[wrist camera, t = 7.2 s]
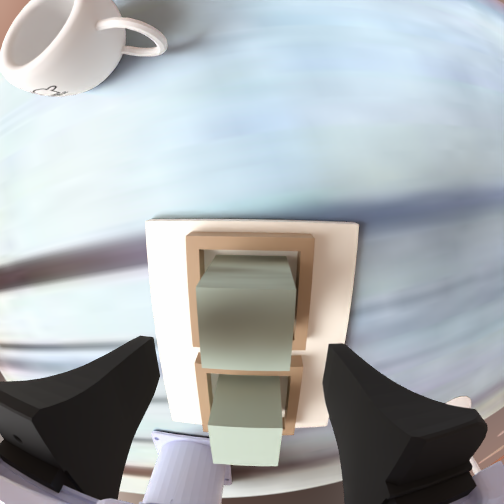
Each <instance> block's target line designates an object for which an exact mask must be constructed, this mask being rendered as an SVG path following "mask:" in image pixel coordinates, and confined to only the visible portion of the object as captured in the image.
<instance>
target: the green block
mask: <svg viewBox="0 0 504 504" xmlns="http://www.w3.org/2000/svg"><path fill="white" fill-rule="evenodd" d="M196 301H197V316H198V330H199V342H200V354H201V364H202V368H209V369H224V370H246V371H290V364H291V353H292V342H293V329H294V316H295V302H296V287H295V283H294V280H293V277H292V273H291V270H290V267H289V263H288V260H287V257H286V256H257V255H216V256H215V257H214V259H213V260H212V262H211V264H210V265H209V267H208V268H207V270H206V272H205V273H204V275H203V276H202V278H201V280H200V281H199V283H198V284H197V286H196Z"/></svg>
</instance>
